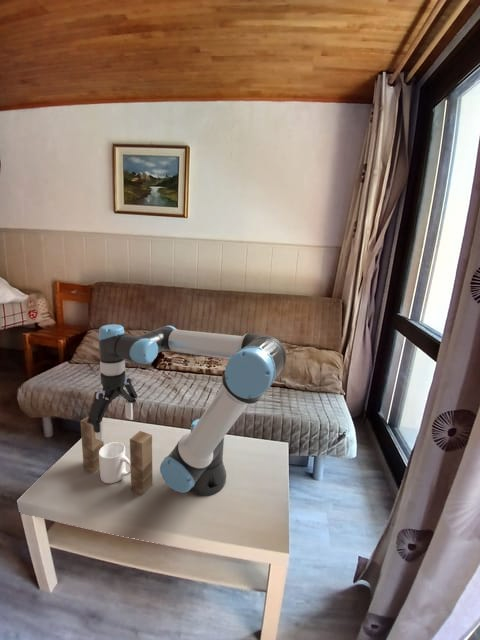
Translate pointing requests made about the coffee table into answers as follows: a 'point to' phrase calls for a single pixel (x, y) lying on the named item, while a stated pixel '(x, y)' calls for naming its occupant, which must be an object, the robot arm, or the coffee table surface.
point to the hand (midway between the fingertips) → (115, 428)
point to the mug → (113, 462)
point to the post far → (90, 446)
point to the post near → (141, 462)
